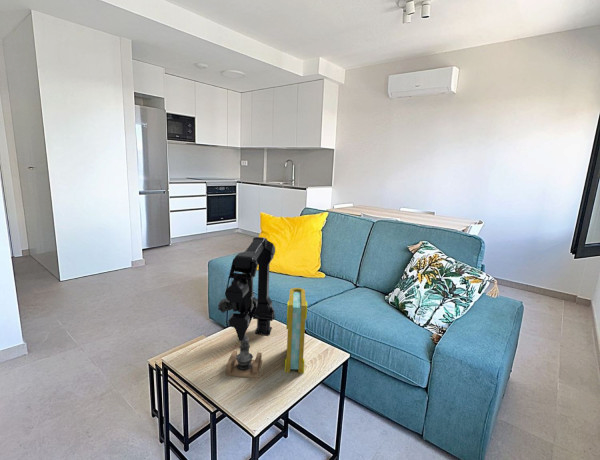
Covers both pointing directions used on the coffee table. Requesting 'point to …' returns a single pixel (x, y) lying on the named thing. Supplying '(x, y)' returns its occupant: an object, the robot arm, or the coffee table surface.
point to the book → (296, 330)
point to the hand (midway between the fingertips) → (243, 333)
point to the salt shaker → (244, 355)
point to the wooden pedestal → (252, 372)
